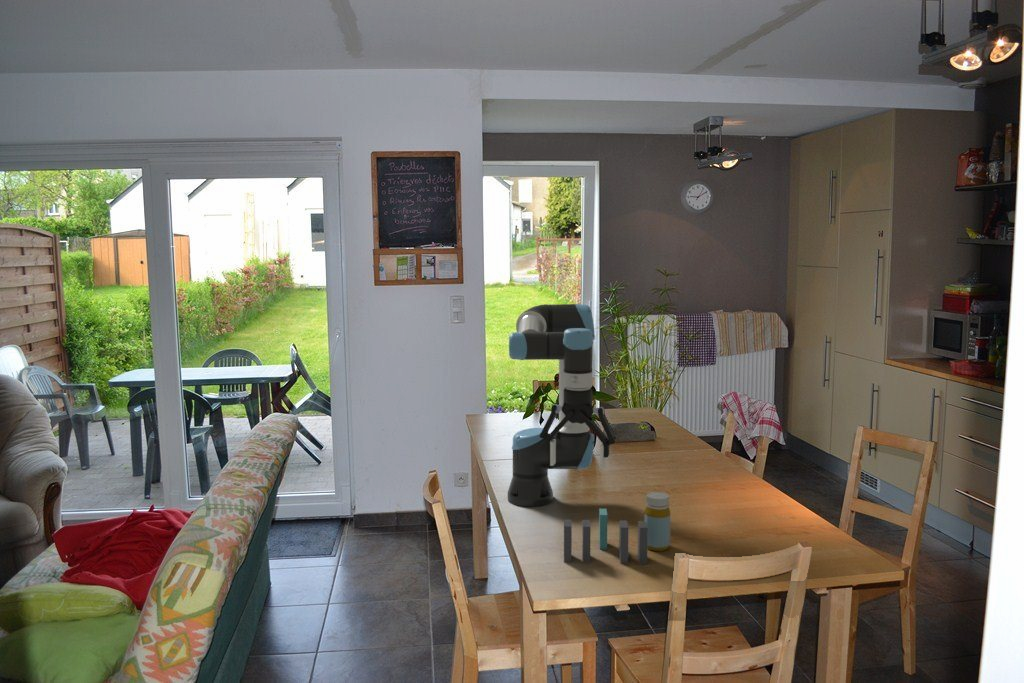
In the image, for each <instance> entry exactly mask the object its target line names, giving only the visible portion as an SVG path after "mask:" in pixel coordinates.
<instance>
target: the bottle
mask: <svg viewBox="0 0 1024 683" xmlns="http://www.w3.org/2000/svg"><path fill="white" fill-rule="evenodd" d="M645 497H646V500H645V501H646V504H645V505H646V506H645V508H644V521H646V524H647V528H648V533H647V550H650V551H654V552H663V551H666V550H667V549H669V548H670V546H671V545H670V544H671V543H670V542H671V510H670V495H669V494H668V493H666V492H662V491H650V492H648V493H647V494H646V496H645Z"/></svg>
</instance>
